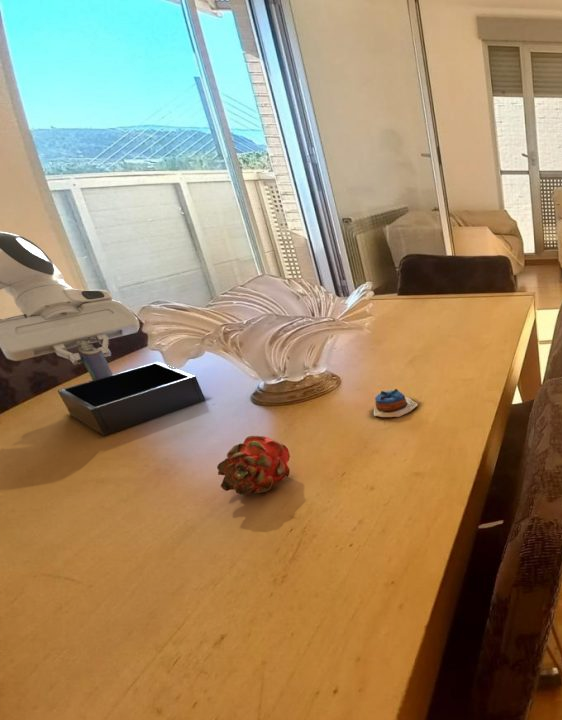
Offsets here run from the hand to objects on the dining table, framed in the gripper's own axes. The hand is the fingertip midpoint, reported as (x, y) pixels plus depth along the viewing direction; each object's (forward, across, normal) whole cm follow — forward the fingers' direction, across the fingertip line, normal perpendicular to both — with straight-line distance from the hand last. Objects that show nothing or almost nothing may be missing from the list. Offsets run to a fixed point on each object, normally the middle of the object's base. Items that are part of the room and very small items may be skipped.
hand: (93, 358), depth 100 cm
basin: (+16, 0, -5) cm, 17 cm away
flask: (+5, 0, +5) cm, 7 cm away
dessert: (+51, +23, -40) cm, 69 cm away
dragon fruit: (+53, -2, -41) cm, 67 cm away
